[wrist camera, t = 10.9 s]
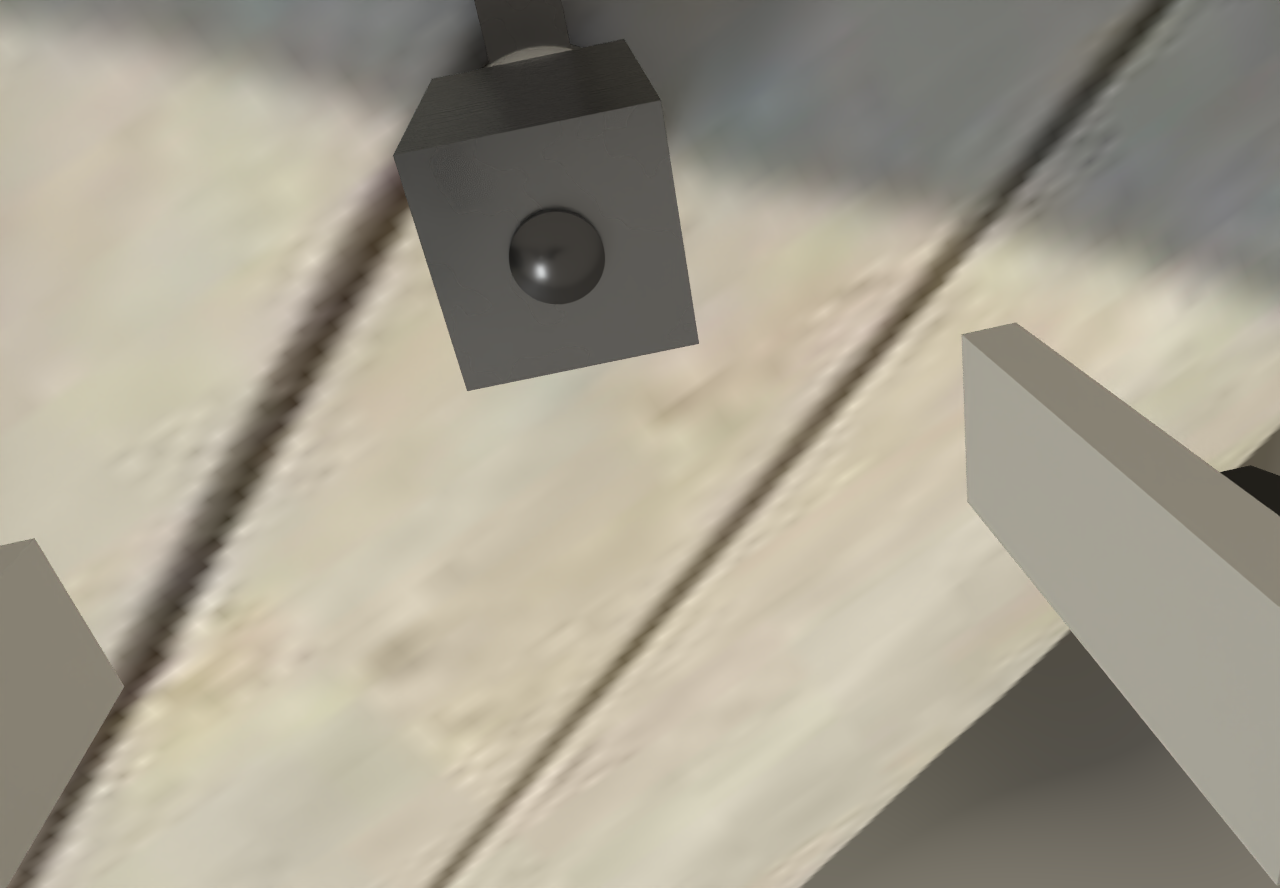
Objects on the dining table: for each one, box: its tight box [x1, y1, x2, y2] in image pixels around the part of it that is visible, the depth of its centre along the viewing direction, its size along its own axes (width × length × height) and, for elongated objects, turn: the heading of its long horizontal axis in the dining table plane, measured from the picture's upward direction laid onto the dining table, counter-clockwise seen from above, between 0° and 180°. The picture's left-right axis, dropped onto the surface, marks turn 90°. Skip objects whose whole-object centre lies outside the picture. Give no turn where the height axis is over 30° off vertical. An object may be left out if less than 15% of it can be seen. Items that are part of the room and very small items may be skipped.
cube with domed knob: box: [393, 39, 699, 391], centre depth 27 cm, size 6×6×10 cm
